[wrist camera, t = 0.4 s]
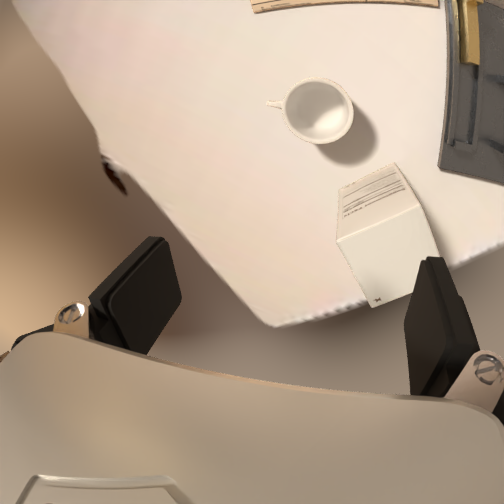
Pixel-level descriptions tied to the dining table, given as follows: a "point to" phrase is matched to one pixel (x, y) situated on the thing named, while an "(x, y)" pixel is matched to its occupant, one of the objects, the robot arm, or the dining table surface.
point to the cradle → (475, 98)
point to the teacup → (316, 110)
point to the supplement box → (383, 234)
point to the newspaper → (276, 0)
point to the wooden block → (469, 31)
